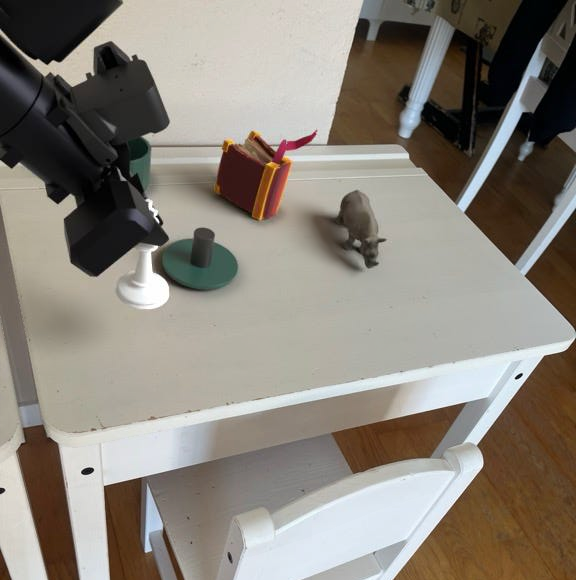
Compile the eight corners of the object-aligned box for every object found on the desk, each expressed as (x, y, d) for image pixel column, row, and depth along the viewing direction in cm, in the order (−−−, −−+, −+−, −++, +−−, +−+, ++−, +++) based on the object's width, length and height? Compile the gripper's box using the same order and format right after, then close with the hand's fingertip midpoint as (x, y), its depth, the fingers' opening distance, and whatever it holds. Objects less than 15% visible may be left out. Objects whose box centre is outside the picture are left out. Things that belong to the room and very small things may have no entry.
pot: (71, 171, 82) (69, 136, 78) (123, 157, 87) (124, 122, 83) (110, 204, 79) (110, 168, 75) (162, 187, 84) (164, 153, 80)
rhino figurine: (354, 281, 79) (368, 243, 75) (329, 218, 88) (341, 180, 84) (383, 282, 80) (399, 245, 76) (356, 220, 89) (369, 182, 85)
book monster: (206, 189, 86) (270, 177, 93) (247, 227, 82) (310, 210, 89) (221, 115, 78) (290, 108, 85) (266, 153, 75) (333, 142, 82)
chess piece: (144, 317, 57) (151, 225, 49) (104, 290, 58) (104, 197, 50) (179, 293, 60) (190, 203, 53) (140, 268, 61) (145, 177, 54)
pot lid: (145, 260, 73) (147, 224, 70) (202, 237, 79) (207, 202, 75) (196, 303, 70) (201, 268, 66) (252, 276, 76) (259, 242, 72)
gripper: (126, 91, 35) (268, 244, 47) (78, -30, 46) (205, 121, 58) (-10, 212, 38) (159, 327, 50) (-25, 71, 48) (117, 195, 61)
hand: (162, 234), depth 54 cm, fingers closed on chess piece
